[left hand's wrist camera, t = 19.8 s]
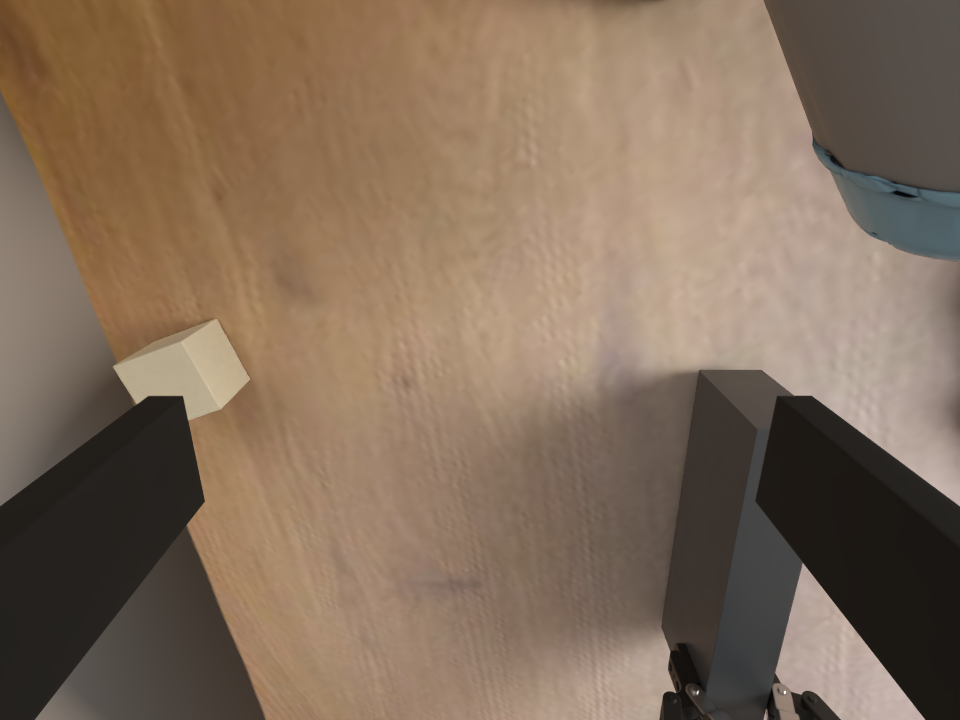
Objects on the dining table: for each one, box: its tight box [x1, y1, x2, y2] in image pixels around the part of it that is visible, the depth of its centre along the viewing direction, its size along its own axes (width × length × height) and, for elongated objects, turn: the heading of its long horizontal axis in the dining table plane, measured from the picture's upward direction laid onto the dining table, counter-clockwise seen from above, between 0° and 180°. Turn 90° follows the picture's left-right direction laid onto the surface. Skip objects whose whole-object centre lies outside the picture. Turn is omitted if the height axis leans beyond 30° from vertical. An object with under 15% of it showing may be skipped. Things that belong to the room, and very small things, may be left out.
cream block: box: [113, 319, 250, 421], centre depth 38 cm, size 5×5×5 cm
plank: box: [661, 370, 803, 720], centre depth 40 cm, size 24×4×9 cm, turn 0°
